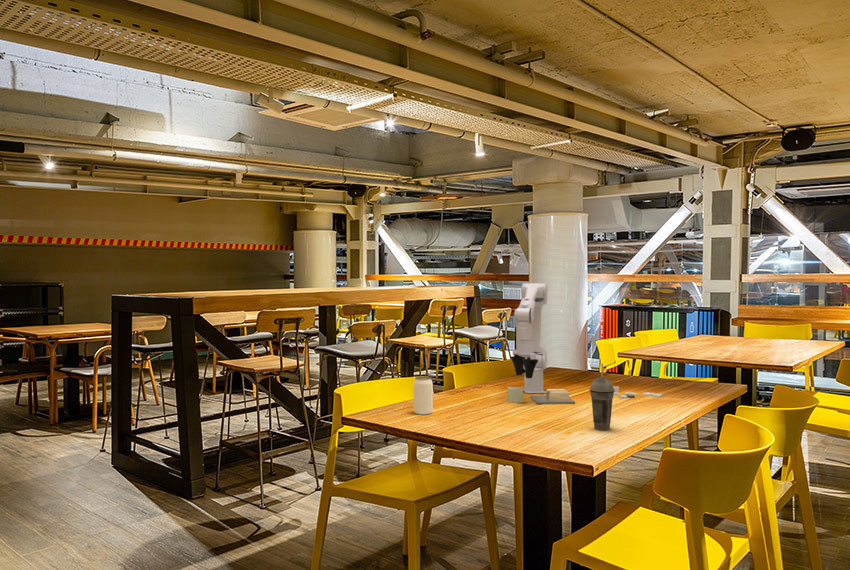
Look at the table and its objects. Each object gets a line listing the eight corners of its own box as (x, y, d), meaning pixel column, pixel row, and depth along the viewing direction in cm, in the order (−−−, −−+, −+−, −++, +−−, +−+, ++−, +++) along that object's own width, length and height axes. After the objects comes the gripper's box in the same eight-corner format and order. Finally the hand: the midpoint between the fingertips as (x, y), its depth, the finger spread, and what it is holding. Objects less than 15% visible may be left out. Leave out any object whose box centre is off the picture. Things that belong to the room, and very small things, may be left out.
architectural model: (645, 405, 230) (645, 399, 230) (584, 397, 244) (584, 392, 244) (662, 396, 246) (662, 391, 246) (604, 390, 260) (604, 385, 260)
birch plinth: (546, 397, 239) (546, 389, 239) (564, 396, 239) (564, 389, 239) (550, 400, 232) (550, 392, 232) (569, 400, 232) (569, 392, 232)
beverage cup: (613, 426, 195) (613, 361, 194) (615, 432, 187) (615, 365, 187) (589, 425, 196) (589, 361, 196) (589, 430, 189) (590, 364, 189)
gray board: (530, 397, 242) (530, 395, 242) (566, 397, 243) (566, 395, 243) (537, 404, 229) (537, 401, 229) (575, 403, 230) (575, 401, 230)
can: (415, 415, 211) (415, 379, 210) (412, 411, 217) (412, 376, 217) (434, 414, 212) (434, 379, 211) (430, 410, 218) (430, 376, 218)
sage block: (507, 400, 238) (507, 386, 238) (520, 400, 238) (520, 386, 238) (509, 402, 233) (509, 389, 233) (523, 402, 233) (523, 389, 233)
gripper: (505, 338, 238) (505, 374, 238) (523, 342, 225) (523, 380, 225) (521, 337, 241) (521, 373, 241) (541, 341, 227) (541, 379, 227)
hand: (524, 376), depth 233 cm, fingers open, 7 cm apart
